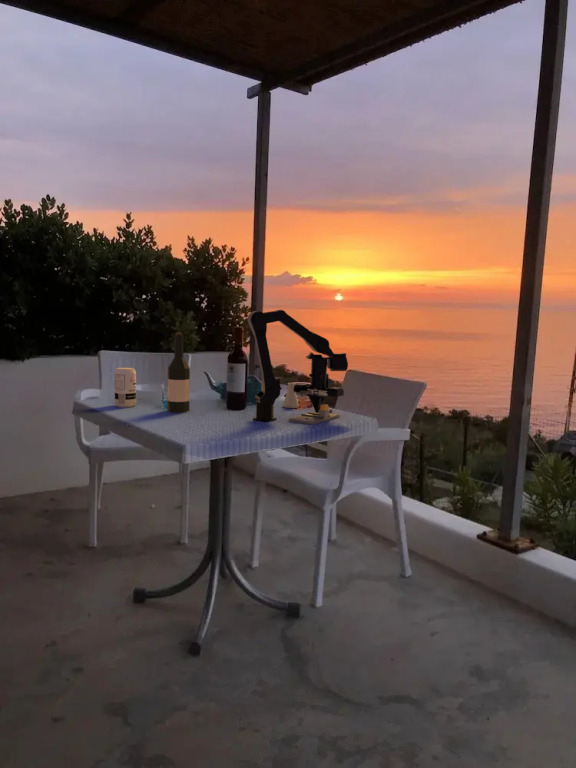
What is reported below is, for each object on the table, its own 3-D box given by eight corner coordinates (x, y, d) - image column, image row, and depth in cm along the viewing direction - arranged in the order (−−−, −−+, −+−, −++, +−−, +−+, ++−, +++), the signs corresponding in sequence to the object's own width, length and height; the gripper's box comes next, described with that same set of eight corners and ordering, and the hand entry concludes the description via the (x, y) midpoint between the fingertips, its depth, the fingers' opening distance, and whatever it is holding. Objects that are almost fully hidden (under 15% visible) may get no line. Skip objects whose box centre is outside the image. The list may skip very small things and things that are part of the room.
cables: (321, 415, 229) (321, 409, 229) (312, 413, 231) (312, 408, 231) (332, 412, 237) (333, 406, 237) (324, 410, 239) (324, 405, 239)
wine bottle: (187, 413, 224) (187, 333, 221) (165, 412, 225) (165, 333, 221) (191, 409, 233) (192, 332, 229) (170, 408, 233) (170, 332, 229)
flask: (292, 409, 241) (293, 384, 239) (278, 407, 245) (279, 383, 244) (303, 407, 246) (303, 383, 245) (289, 405, 251) (289, 381, 249)
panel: (312, 424, 210) (312, 420, 210) (288, 421, 215) (289, 416, 215) (339, 416, 227) (339, 412, 226) (316, 413, 232) (317, 409, 232)
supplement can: (114, 404, 239) (114, 367, 237) (135, 404, 241) (135, 367, 239) (114, 407, 231) (114, 369, 229) (136, 407, 234) (136, 369, 232)
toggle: (324, 417, 217) (325, 405, 217) (318, 416, 219) (319, 404, 218) (329, 416, 220) (329, 404, 219) (323, 415, 221) (323, 403, 221)
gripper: (351, 371, 221) (349, 413, 223) (308, 367, 231) (307, 407, 233) (337, 374, 211) (335, 417, 213) (293, 369, 221) (291, 410, 223)
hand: (317, 412), depth 221 cm, fingers closed
